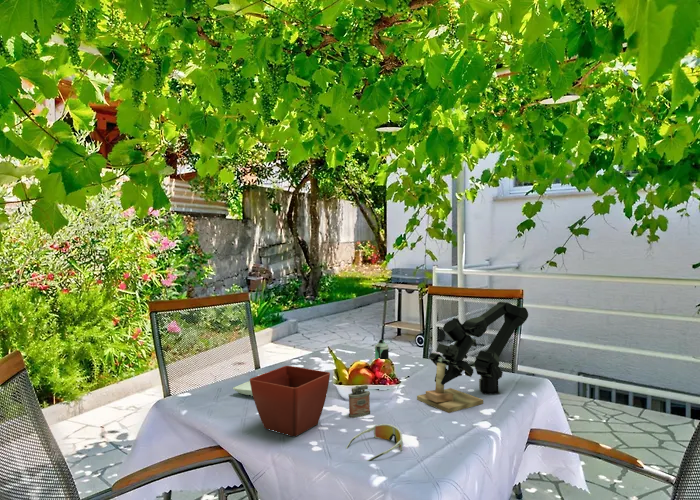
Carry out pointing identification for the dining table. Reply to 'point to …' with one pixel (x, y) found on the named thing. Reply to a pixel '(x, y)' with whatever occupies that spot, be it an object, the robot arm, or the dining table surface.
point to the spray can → (381, 350)
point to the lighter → (359, 402)
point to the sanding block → (439, 387)
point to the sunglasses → (384, 436)
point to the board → (453, 401)
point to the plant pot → (290, 398)
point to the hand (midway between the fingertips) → (438, 382)
